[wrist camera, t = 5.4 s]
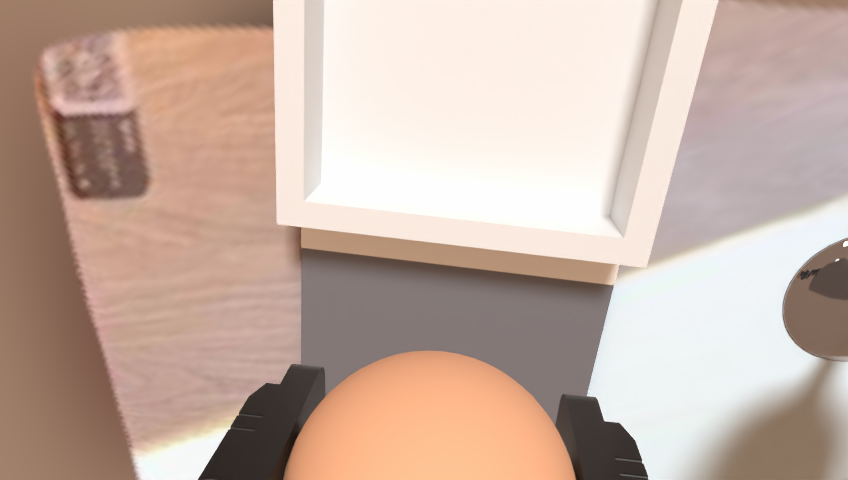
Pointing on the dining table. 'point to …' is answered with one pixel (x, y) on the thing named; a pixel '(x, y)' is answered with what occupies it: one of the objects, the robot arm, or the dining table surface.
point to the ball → (429, 426)
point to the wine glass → (820, 304)
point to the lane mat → (452, 309)
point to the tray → (485, 119)
